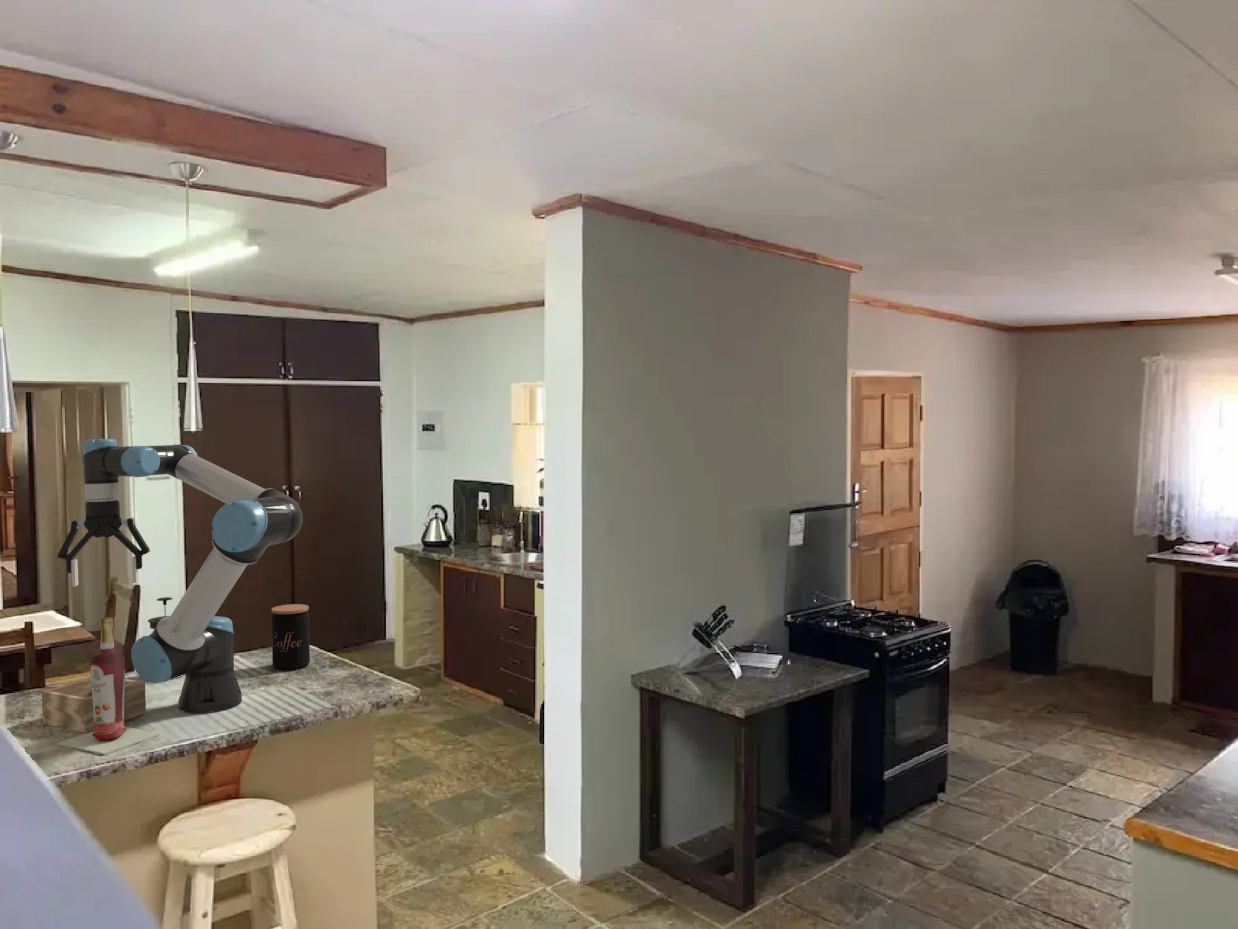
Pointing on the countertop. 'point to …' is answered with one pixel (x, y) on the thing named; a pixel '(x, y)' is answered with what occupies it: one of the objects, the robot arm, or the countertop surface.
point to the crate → (86, 704)
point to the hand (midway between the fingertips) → (105, 584)
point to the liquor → (108, 686)
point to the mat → (106, 747)
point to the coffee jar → (290, 637)
